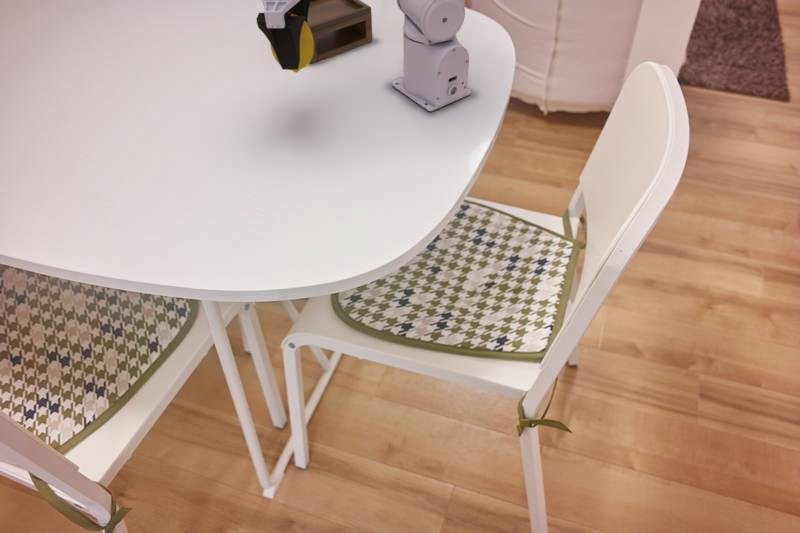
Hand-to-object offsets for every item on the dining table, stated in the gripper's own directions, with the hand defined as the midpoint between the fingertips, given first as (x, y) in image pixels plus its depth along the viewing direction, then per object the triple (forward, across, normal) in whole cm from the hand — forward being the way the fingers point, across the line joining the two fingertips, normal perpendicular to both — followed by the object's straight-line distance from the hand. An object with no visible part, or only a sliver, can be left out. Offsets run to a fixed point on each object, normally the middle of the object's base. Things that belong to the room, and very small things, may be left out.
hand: (294, 56), depth 80 cm
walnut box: (+9, -23, 0) cm, 25 cm away
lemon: (+2, 0, 0) cm, 2 cm away
